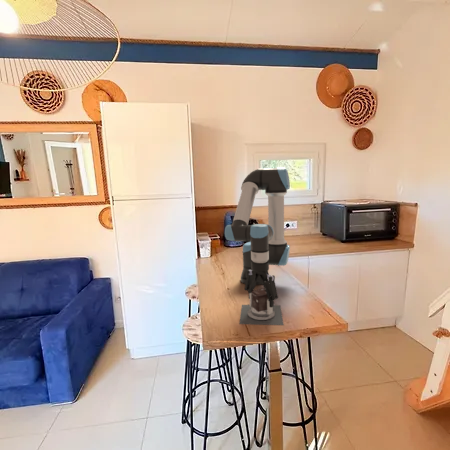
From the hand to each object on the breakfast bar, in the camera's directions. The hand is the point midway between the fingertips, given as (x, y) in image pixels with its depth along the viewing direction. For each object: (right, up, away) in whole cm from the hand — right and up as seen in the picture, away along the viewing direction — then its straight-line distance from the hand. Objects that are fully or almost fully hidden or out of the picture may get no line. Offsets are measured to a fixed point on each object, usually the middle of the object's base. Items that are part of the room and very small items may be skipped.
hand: (260, 309), depth 121 cm
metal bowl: (0, -2, 0) cm, 2 cm away
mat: (0, -2, 0) cm, 2 cm away
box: (0, +1, 0) cm, 1 cm away
